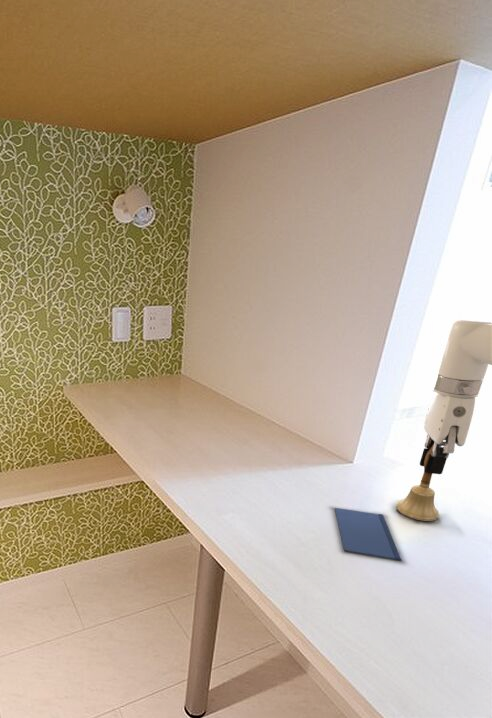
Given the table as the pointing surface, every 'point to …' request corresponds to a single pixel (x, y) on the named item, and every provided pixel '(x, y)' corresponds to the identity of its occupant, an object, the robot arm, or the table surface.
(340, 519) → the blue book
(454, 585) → the table surface
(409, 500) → the hand bell
